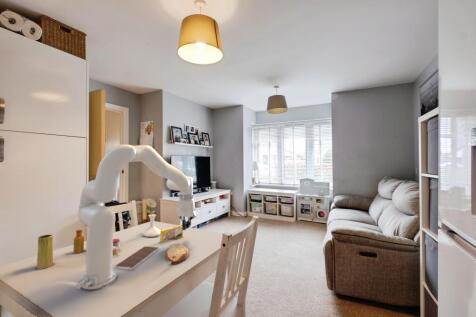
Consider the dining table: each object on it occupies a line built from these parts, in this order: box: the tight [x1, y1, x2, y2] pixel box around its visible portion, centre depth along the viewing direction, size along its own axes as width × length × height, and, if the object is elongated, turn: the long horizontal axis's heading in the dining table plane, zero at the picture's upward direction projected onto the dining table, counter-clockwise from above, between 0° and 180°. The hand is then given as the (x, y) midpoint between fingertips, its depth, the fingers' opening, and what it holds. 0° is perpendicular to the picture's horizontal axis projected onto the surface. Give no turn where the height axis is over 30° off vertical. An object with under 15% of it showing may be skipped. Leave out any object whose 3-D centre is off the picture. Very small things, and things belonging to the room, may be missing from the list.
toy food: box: [72, 229, 121, 256], centre depth 122 cm, size 27×13×12 cm, turn 73°
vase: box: [35, 234, 54, 270], centre depth 105 cm, size 6×6×14 cm
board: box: [115, 246, 159, 269], centre depth 115 cm, size 24×9×1 cm, turn 171°
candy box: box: [159, 224, 184, 243], centre depth 141 cm, size 16×2×8 cm, turn 143°
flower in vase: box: [142, 198, 161, 238], centre depth 150 cm, size 13×11×25 cm
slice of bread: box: [165, 243, 189, 265], centre depth 119 cm, size 18×18×4 cm
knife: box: [174, 221, 188, 237], centre depth 128 cm, size 21×2×3 cm, turn 171°
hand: (186, 227), depth 133 cm, fingers closed on knife, 2 cm apart
